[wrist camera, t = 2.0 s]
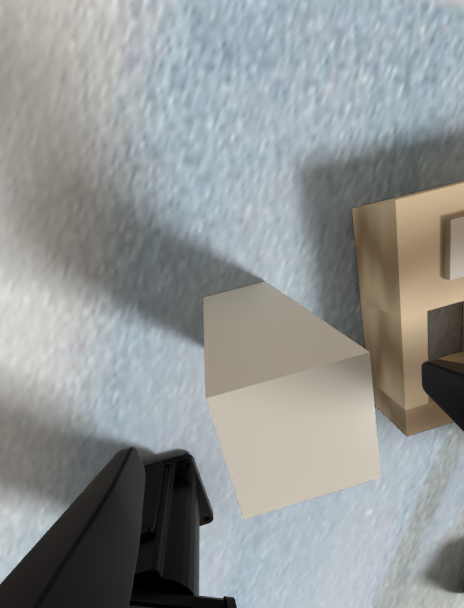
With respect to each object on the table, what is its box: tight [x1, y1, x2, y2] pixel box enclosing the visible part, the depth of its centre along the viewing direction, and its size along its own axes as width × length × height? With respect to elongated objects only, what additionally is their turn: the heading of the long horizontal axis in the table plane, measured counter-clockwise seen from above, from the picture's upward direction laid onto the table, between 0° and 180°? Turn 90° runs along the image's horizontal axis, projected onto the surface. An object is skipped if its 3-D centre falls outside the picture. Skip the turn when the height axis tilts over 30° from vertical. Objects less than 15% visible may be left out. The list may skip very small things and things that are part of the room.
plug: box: [203, 281, 381, 520], centre depth 11 cm, size 4×4×10 cm
